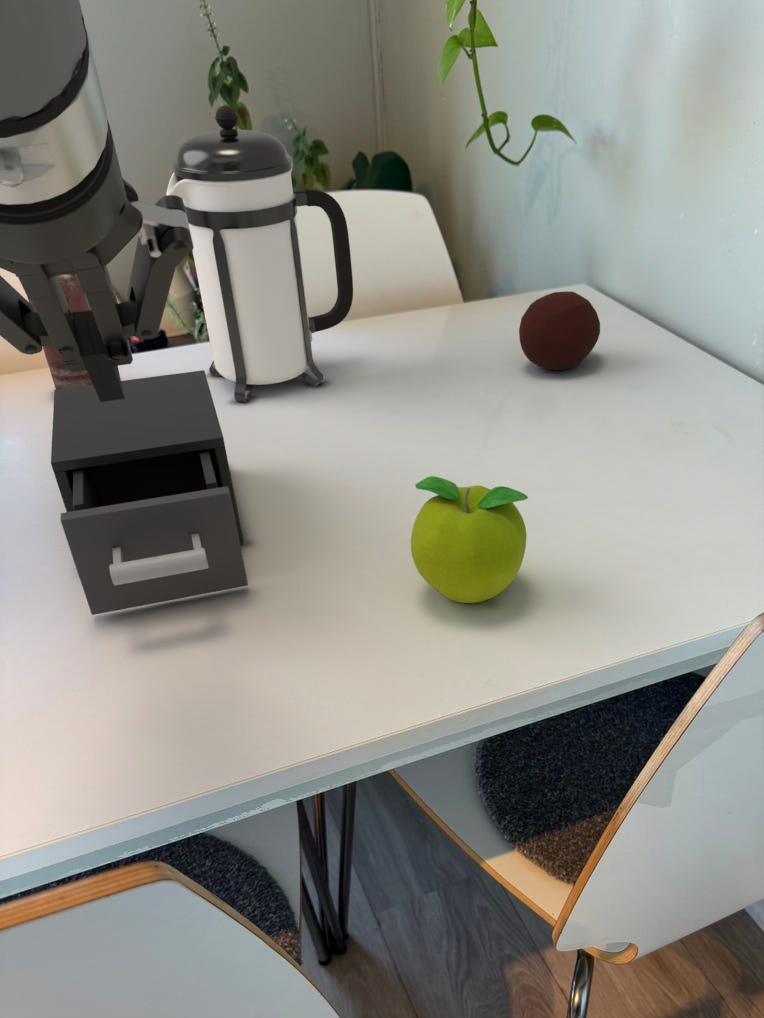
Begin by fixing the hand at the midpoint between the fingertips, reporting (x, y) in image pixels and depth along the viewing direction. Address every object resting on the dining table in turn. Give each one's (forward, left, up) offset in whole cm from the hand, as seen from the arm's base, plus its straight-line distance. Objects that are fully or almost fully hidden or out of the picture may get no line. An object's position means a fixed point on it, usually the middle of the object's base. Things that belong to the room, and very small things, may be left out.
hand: (108, 380), depth 59 cm
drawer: (0, +11, -21) cm, 24 cm away
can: (-7, +56, -22) cm, 61 cm away
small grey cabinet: (0, +22, -22) cm, 31 cm away
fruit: (+24, 0, -22) cm, 33 cm away
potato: (+51, +44, -22) cm, 71 cm away
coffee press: (+16, +53, -22) cm, 60 cm away
